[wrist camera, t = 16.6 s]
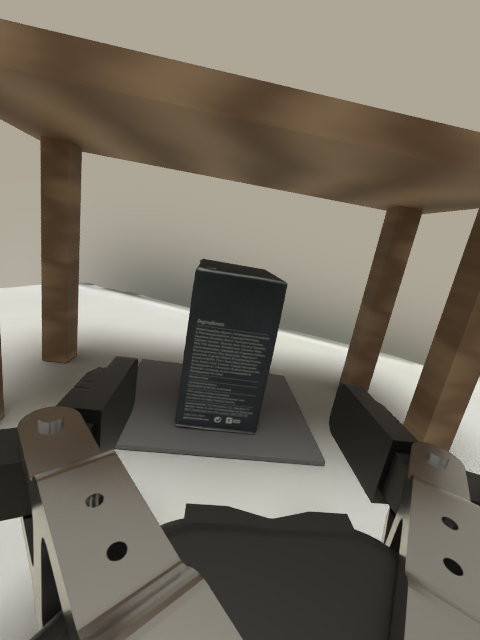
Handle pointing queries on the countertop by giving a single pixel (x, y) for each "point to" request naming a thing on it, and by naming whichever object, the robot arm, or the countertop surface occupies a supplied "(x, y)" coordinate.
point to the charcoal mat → (264, 445)
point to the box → (228, 346)
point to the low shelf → (249, 181)
